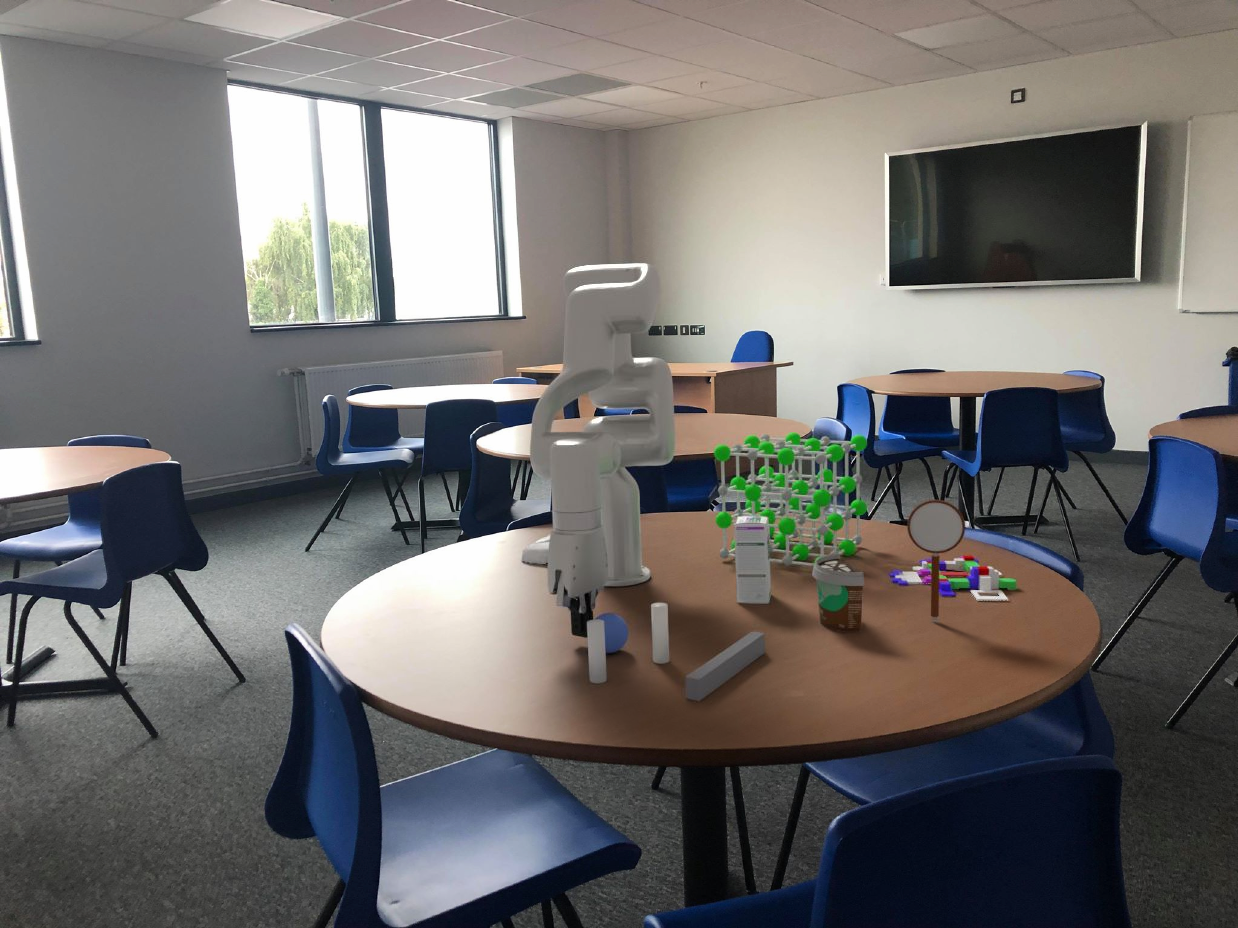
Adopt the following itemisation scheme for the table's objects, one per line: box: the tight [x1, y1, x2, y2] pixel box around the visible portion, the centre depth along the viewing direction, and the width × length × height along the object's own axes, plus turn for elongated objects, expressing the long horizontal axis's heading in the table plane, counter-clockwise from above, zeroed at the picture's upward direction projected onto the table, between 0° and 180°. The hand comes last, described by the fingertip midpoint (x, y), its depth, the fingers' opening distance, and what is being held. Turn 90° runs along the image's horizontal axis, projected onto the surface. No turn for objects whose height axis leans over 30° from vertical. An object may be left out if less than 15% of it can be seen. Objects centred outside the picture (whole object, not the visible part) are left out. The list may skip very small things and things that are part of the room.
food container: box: [811, 554, 865, 633], centre depth 150 cm, size 12×6×10 cm, turn 5°
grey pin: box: [587, 618, 608, 684], centre depth 130 cm, size 2×2×8 cm
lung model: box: [520, 534, 551, 565], centre depth 202 cm, size 7×17×25 cm
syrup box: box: [733, 516, 772, 605], centre depth 164 cm, size 6×6×14 cm
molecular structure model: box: [713, 431, 868, 567], centre depth 192 cm, size 24×25×24 cm
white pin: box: [650, 602, 670, 665], centre depth 137 cm, size 2×2×8 cm
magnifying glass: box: [906, 499, 966, 623], centre depth 148 cm, size 9×2×20 cm, turn 71°
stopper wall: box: [685, 631, 766, 702], centre depth 131 cm, size 2×20×3 cm, turn 146°
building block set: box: [888, 555, 1017, 602], centre depth 171 cm, size 25×20×4 cm
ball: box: [594, 612, 629, 654], centre depth 141 cm, size 6×6×6 cm
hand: (582, 634), depth 145 cm, fingers closed
